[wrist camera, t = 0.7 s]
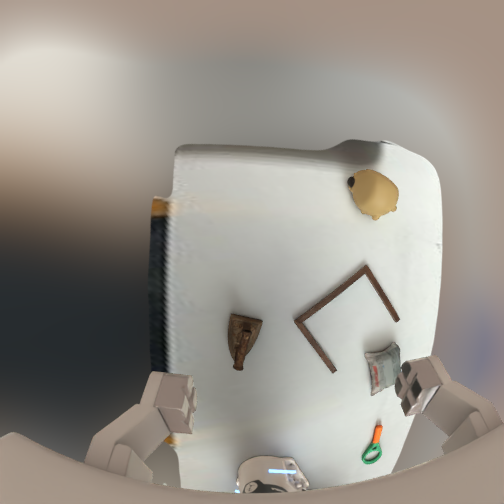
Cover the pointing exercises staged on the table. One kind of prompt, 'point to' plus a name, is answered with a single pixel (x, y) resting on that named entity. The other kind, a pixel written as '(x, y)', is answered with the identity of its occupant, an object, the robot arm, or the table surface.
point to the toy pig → (373, 193)
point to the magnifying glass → (374, 443)
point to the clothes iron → (242, 337)
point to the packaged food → (384, 367)
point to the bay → (330, 297)
